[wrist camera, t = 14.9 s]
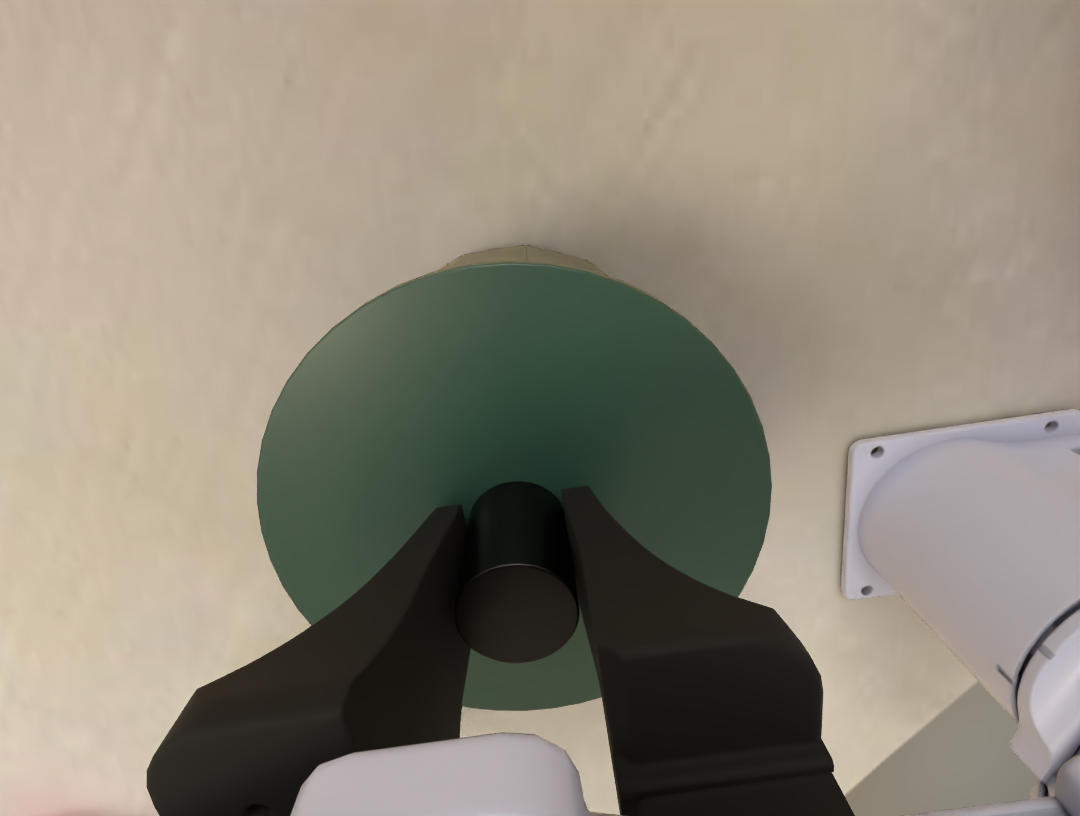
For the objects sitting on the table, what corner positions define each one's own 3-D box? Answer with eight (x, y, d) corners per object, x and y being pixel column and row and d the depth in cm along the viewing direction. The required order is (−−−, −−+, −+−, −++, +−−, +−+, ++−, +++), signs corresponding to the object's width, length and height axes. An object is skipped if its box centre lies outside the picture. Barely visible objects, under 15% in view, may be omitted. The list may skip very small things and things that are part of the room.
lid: (751, 216, 12) (862, 228, 8) (756, 649, 17) (830, 792, 13) (200, 302, 13) (53, 355, 9) (349, 705, 17) (297, 862, 13)
